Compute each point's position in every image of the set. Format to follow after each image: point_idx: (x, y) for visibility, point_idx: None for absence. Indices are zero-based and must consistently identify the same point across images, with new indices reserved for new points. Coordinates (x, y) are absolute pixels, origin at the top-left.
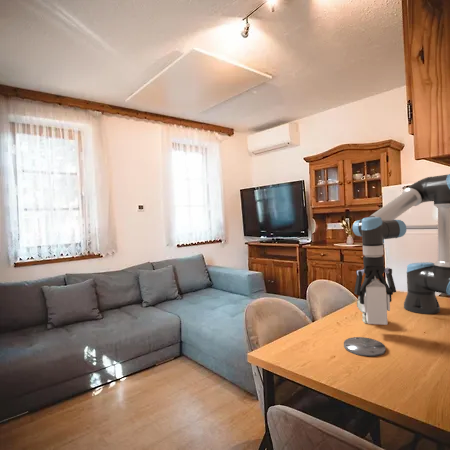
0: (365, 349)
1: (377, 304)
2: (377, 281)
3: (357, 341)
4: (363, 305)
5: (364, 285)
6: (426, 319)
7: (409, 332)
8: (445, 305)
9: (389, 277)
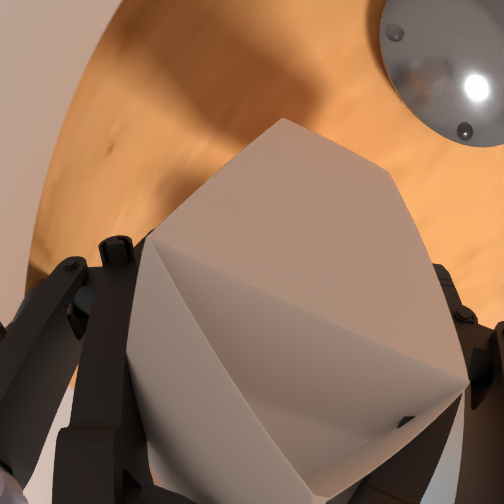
0: (489, 12)
1: (332, 185)
2: (268, 444)
3: (482, 97)
4: None
5: (443, 431)
6: (68, 252)
7: (160, 156)
8: None
9: (1, 405)
